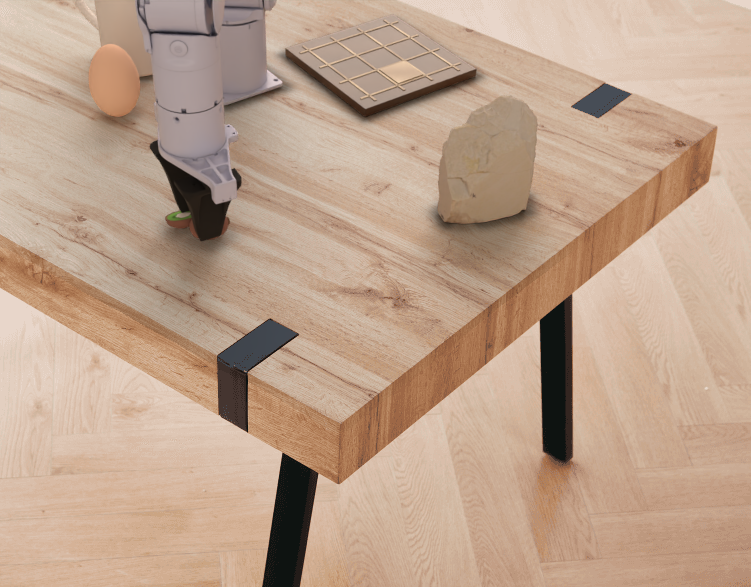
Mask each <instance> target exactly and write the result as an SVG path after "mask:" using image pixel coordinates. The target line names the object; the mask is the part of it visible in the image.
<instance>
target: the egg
mask: <svg viewBox="0 0 751 587" xmlns="http://www.w3.org/2000/svg"><path fill="white" fill-rule="evenodd" d="M88 89H89V92H90V95H91V97H92V100H93V102H94V103H95V104H96V107H98V108H99V109H100V111H102V112H103V113H105V114H106V115H108V116H111V117H114V118H120V117H121V118H122V117H124V116H126V115H128V114H129V113H131V112H132V111H133V109H134V108H135V107H136V105H137V103H138V100H139V98H140V94H141V93H140V92H141V80H140V77H139V74H138V71H137V68H136V66H135V64H134V62H133V60H132V59H131V57H130V56H129V55H128V54H127V52H126V51H125V50H124V49H122V48H121V47H119V46H117V45H114V44H107V45H104V46H102V47H101V46H100V47H99V48H98V49H97V50H96V51H95V53H94V55H93V56H92V59H91V61H90V65H89V68H88Z"/></svg>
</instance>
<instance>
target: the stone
mask: <svg viewBox="0 0 751 587" xmlns="http://www.w3.org/2000/svg"><path fill="white" fill-rule="evenodd" d="M538 123H539V122H538V116H537V115H536V114H535V113H534V111H533V109H531V108H530V106H529V104H528V103H527V102H526V101H524V100H522V99H520V98H517V97H515V96H513V95H500V96H498V97H496V98H495V99H494V100H492V101H491V102H489V103H488V104H486V105H484V106H481V107H480V106H479V108H476V109H474V110H473V111H471V112H470V115H469V116H468V118H467V119H466V121H465V123H463V124H462V125H458V126H454V127H453V128H452V129H450V131H449V134H448V137H447V140H446V141H444V143H443V144H442V150H441V151H442V152H441V153H442V155H441V158H440V160H439V165H438V177H437V178H438V179H437V186H438V188H437V189H438V202H437V207H436V208H437V213H438V215H439V217H440V218H441V219H442V221H443V222H444V223H449V224H461V225H469V224H475V223H476V224H479V223H486V222H491V221H495V220H500V219H504V218H509V217H513V216H515V215H518V214H519V213H521V211H526V209H527V206H528V202H529V198H530V194H531V189H532V184H533V177H534V170H535V167H534V166H535V159H536V157H537V156H536V155H537V153H536V147H537V142H538V138H537V137H538V136H537V135H538V134H537V133H538V126H539V125H538Z"/></svg>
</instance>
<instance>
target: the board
mask: <svg viewBox="0 0 751 587" xmlns="http://www.w3.org/2000/svg"><path fill="white" fill-rule="evenodd" d="M284 51H285V52H284V53H285V56H286V57H287V58H288V59H289V60H291V61H292V62H293V63H295V64H296V65H297V66H298V67H300V68H301V69H302V70H304V71H305V72H306V73H308V74H309V75H310V76H311V77H313V79H315V80H317V81H318V82H320V83H321V85H323V86H325V87H326V88H327V89H328V90H329V91H331V92H332V93H333V94H334V95H336V96H337V97H339V98H340V99H341V100H342V101H344V102H345V103H346V104H348V105H349V106H350V107H352V108H353V109H354V110H356V112H358V113H359V114H361V115H362V116H363V117H368V116H371V115H374V114H377V113H379V112H383V111H386V110H388V109H391V108H393V107H396V106H399V105H401V104H405V103H407V102H410V101H413V100H416V99H419V98H421V97H423V96H426V95H429V94H431V93H434V92H437V91H439V90H442V89H445V88H447V87H450V86H454V85H456V84H458V83H462V82H464V81H467V80H470V79H472V78H475V77H476V76H477V67H475V66H473V65H472V64H469V62H467V61H465V60H464V59H462V58H461V57H459V55H456V54H455V53H453V52H451V51H450V50H449V49H447V48H446V47H445V46H444V45H443V46H442V45H441V44H439V43H438V42H436V41H435V40H434V39H432V38H430V37H429V36H427V35H426V34H424V33H423V32H421V31H420V30H418V29H417V28H416V27H414V26H412V25H410V24H409V23H407V21H405V20H403V19H402V18H400V17H399V16H397V15H396V14H394V13H392V14H390V15H385V16H382V17H379V18H376V19H372V20H370V21H366V22H363V23H360V24H357V25H354V26H351V27H347V28H344V29H341V30H338V31H335V32H332V33H328V34H325V35H321V36H319V37H316V38H313V39H310V40H306V41H304V42H303V41H302V42H300V43H297V44H293V45H290V46H288V47H285V48H284Z"/></svg>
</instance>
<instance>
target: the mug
mask: <svg viewBox="0 0 751 587" xmlns="http://www.w3.org/2000/svg"><path fill="white" fill-rule="evenodd" d="M93 1H94V7H95V13H94V12H93V11H92V10H91V8H90V7H89V6H88V5H87V3H86V2H85V0H72V2H73V4H74V5H75V7H76V8H77V10H78V11H79V13H80V14H81V15H82V16H83V18H84V19H85V20H86V21H88V22H89V24H90V25H91V26H93V27H94V28H95V29H96V30H97V31H98V35H99V42H100V48H101V47H102V46H104V45H107V44H114V45H117V46H119V47H121V48H122V49H124V50H125V51H126V52H127V54H128V55H129V56H130V57H131V59H132V60H133V62H134V64H135V66H136V68H137V71H138V74H139V78H140V77H141V78H142V77H147V76H148V77H149V76H153V74H152V65H151V56H150V54H149V53H148V52H146V50H145V48H144V40H143V35H142V32H141V30H140V27H139V24H138V20H137V14H136V7H135V0H93Z"/></svg>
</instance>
